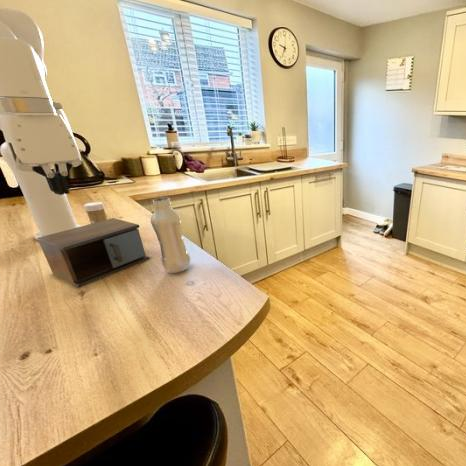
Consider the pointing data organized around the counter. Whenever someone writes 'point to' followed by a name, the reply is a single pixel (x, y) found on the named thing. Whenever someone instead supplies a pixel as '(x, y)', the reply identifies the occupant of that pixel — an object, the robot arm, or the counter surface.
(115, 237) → the sliding door
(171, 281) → the counter surface
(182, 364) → the counter surface
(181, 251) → the plastic bottle
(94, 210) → the sprinkles bottle
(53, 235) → the cupboard
